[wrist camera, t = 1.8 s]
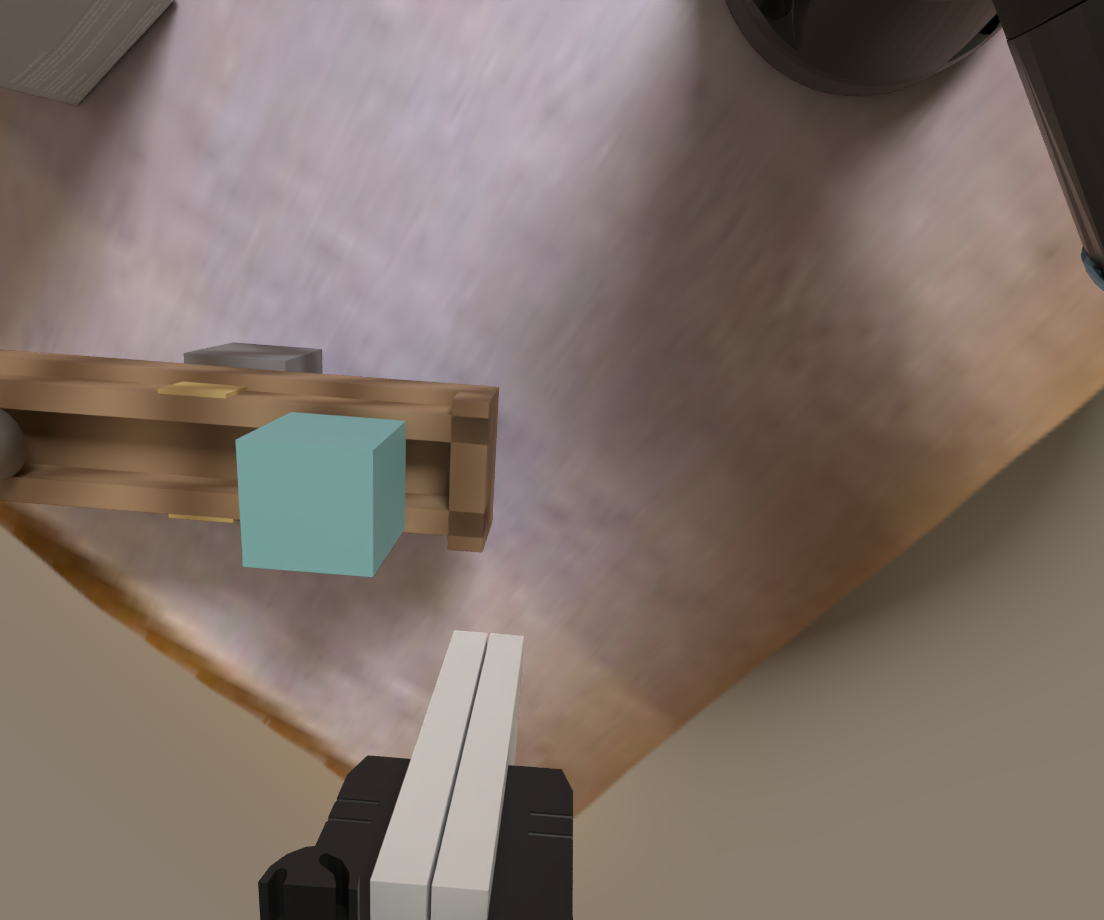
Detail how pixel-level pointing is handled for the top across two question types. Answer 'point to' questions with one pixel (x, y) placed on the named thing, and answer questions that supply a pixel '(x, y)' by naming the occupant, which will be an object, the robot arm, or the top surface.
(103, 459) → the beam
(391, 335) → the top surface
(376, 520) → the block
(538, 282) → the top surface
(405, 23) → the top surface
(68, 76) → the skincare box
